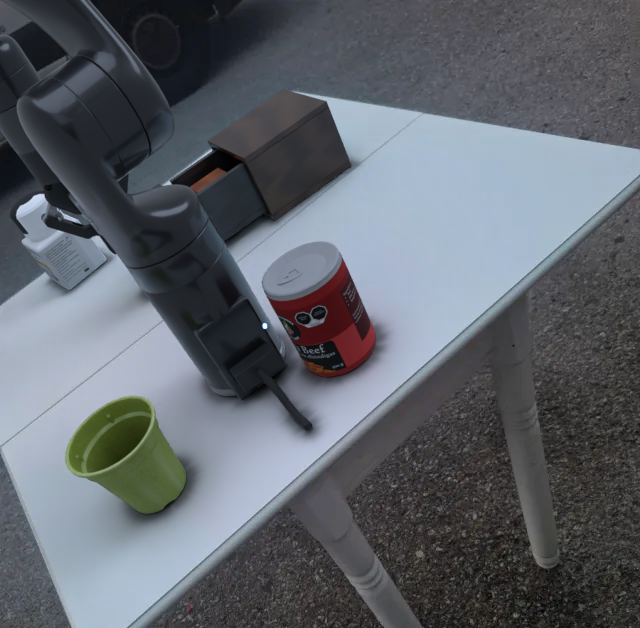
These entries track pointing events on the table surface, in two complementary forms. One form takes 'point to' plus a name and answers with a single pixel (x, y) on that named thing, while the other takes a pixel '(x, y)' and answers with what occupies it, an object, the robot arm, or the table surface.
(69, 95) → the robot arm
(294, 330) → the canned food
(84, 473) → the plant pot
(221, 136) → the cabinet
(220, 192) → the drawer
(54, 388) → the table surface
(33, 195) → the container
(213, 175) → the block
